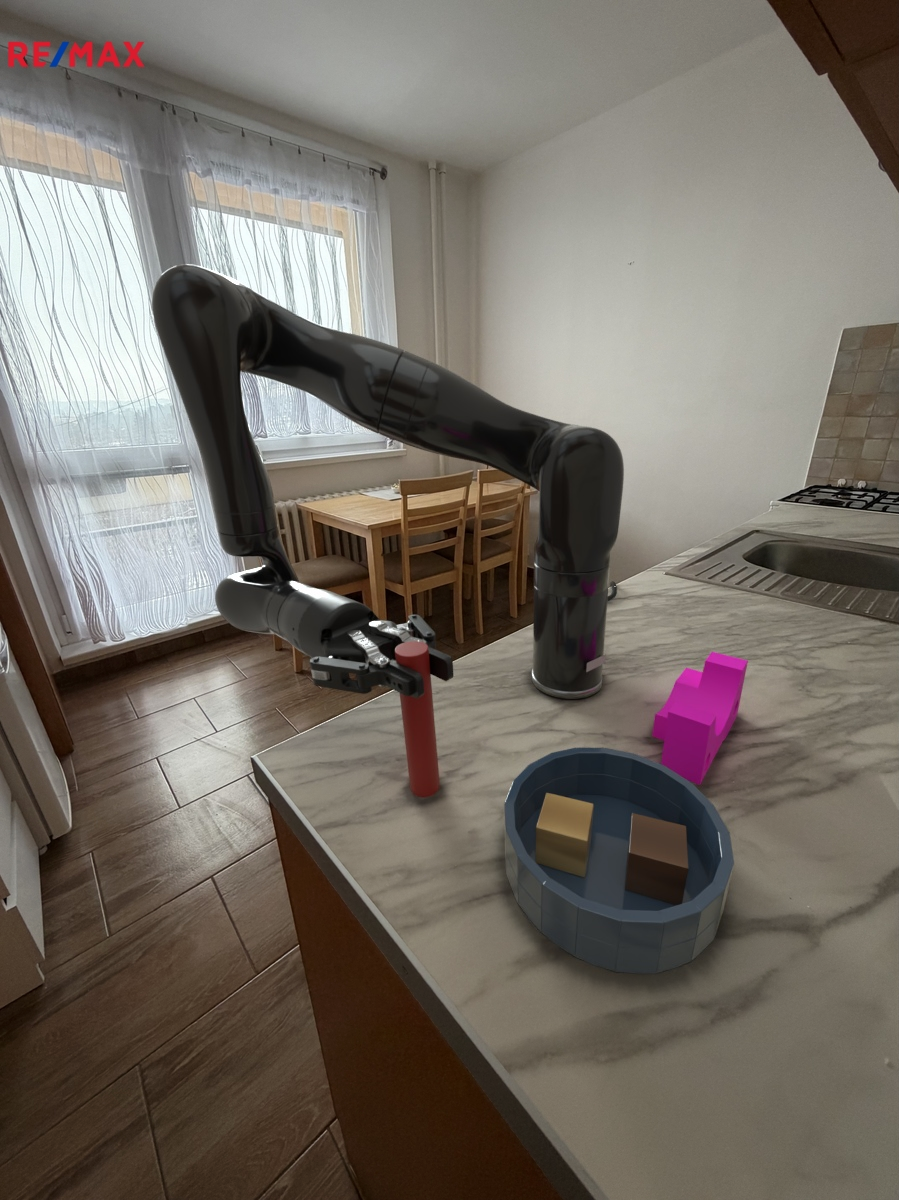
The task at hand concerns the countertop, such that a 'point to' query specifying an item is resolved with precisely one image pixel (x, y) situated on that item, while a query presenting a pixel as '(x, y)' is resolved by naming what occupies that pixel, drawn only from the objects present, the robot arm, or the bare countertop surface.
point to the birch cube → (564, 834)
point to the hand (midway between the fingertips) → (435, 678)
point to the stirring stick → (419, 723)
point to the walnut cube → (657, 859)
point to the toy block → (700, 715)
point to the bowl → (617, 861)
